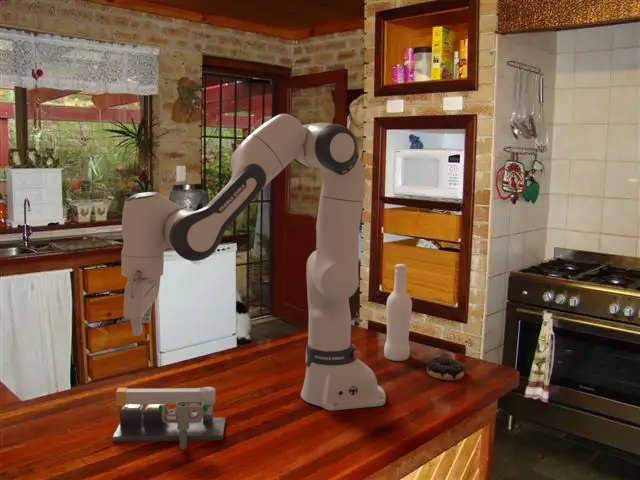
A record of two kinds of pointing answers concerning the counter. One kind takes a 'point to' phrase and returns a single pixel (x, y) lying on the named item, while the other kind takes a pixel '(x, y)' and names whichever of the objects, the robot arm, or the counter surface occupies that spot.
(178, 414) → the mechanical component
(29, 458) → the counter surface
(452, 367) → the donut
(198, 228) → the robot arm
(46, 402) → the counter surface
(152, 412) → the block
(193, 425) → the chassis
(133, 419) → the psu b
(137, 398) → the lever
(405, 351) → the bottle
